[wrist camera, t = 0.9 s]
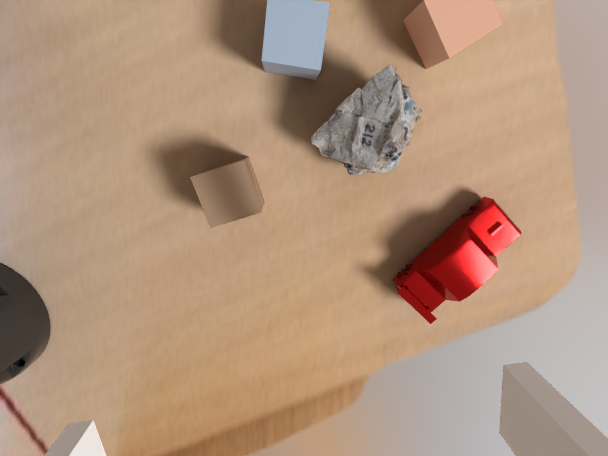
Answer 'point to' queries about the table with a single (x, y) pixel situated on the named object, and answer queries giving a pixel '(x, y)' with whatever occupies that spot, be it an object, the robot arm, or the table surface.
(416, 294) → the toy car
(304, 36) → the slate-blue cube
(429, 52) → the salmon-pink cube
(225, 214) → the walnut cube
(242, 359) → the table surface
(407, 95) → the mineral specimen
